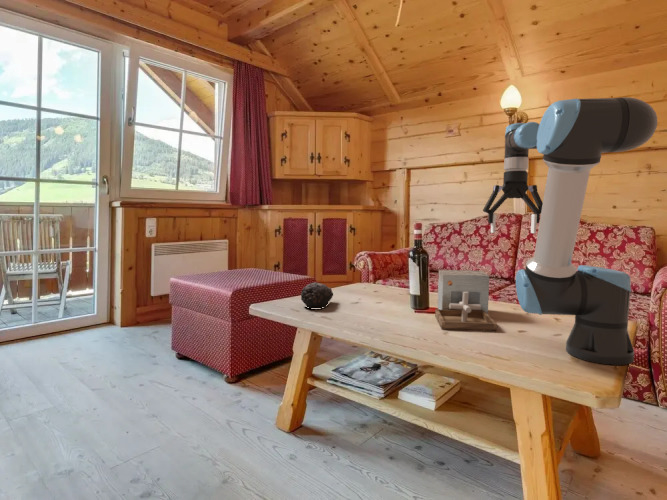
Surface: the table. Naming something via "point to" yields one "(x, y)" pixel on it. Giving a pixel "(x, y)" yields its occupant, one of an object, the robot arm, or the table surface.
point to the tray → (474, 322)
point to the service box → (463, 288)
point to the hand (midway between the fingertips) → (512, 233)
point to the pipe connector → (465, 306)
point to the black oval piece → (316, 295)
